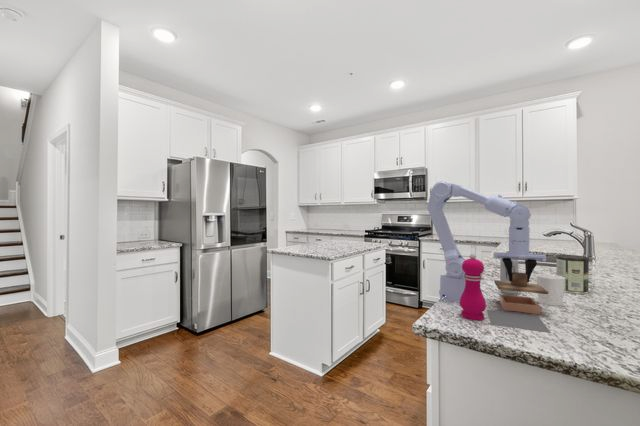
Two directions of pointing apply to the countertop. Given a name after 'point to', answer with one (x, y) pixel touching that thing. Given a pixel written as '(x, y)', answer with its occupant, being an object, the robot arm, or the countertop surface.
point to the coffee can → (574, 273)
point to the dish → (519, 304)
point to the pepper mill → (472, 290)
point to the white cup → (551, 289)
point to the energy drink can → (505, 275)
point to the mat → (517, 320)
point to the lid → (520, 284)
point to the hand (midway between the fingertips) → (518, 281)
